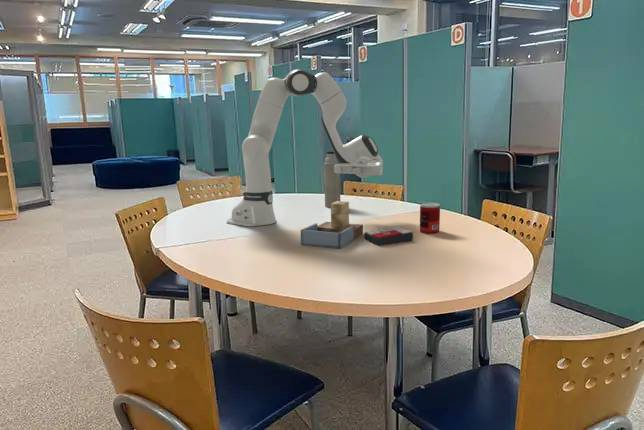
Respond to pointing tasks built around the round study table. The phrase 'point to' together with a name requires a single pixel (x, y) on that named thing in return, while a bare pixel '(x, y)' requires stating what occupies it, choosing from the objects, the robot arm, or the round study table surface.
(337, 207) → the oak block
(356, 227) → the walnut plate
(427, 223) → the canned food
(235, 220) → the robot arm
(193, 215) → the round study table surface
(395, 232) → the calculator
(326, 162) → the thermos bottle
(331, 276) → the round study table surface
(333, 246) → the tray
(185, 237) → the round study table surface
